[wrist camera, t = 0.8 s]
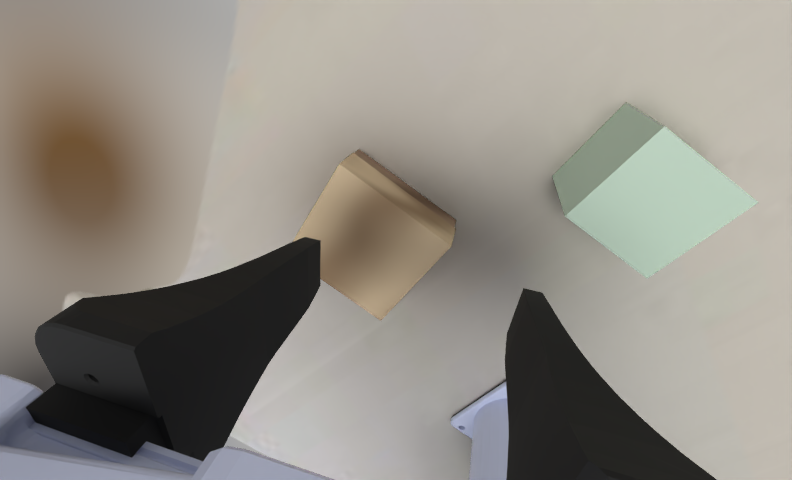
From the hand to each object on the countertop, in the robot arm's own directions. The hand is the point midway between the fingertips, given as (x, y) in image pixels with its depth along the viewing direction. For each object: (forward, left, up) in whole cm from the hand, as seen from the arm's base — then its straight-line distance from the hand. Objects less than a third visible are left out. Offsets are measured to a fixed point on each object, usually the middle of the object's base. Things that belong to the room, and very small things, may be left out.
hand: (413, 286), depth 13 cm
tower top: (+2, +5, -8) cm, 10 cm away
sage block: (-6, -6, -10) cm, 13 cm away
